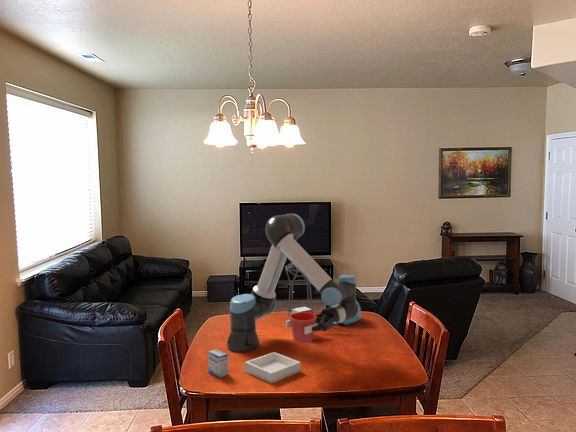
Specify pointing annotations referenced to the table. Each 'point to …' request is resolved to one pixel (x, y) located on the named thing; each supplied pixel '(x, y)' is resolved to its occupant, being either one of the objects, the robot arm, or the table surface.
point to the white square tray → (272, 367)
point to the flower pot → (302, 326)
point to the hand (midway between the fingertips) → (295, 327)
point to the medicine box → (218, 363)
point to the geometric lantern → (297, 284)
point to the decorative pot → (351, 319)
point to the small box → (301, 310)
